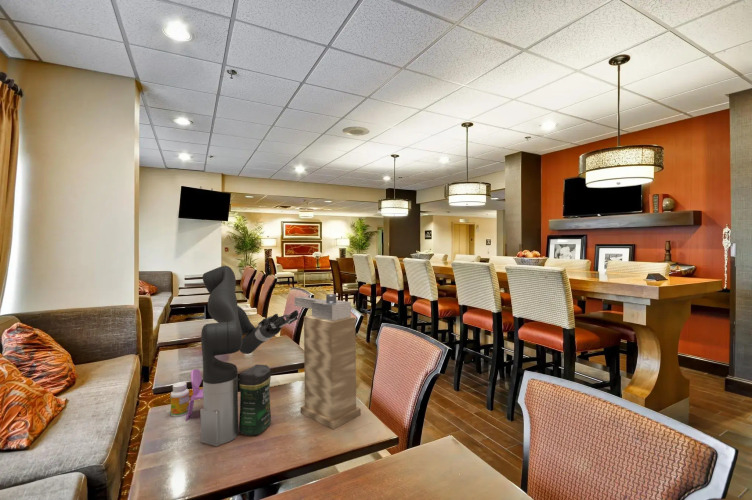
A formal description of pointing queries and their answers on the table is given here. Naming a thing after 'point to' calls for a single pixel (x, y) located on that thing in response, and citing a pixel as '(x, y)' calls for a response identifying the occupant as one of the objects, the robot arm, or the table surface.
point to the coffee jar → (254, 400)
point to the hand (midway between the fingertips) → (287, 314)
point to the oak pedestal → (330, 371)
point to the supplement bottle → (179, 399)
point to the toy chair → (195, 389)
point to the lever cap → (326, 307)
